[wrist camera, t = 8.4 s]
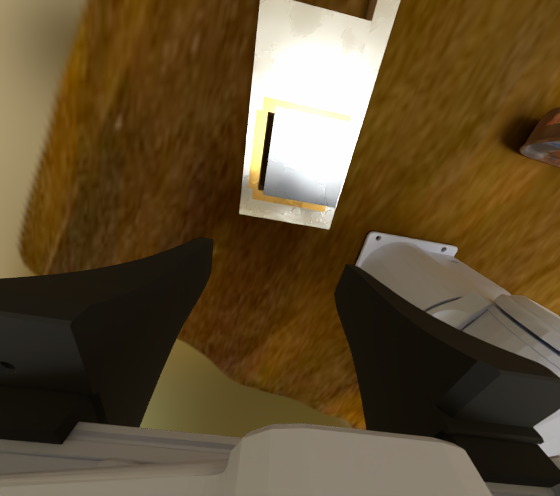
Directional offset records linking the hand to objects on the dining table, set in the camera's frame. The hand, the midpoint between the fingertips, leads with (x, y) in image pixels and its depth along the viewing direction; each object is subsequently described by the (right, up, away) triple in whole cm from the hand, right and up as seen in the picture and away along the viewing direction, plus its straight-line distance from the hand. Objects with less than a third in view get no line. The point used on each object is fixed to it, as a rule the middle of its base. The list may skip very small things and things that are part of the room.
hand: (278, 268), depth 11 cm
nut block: (+2, +9, +6) cm, 11 cm away
